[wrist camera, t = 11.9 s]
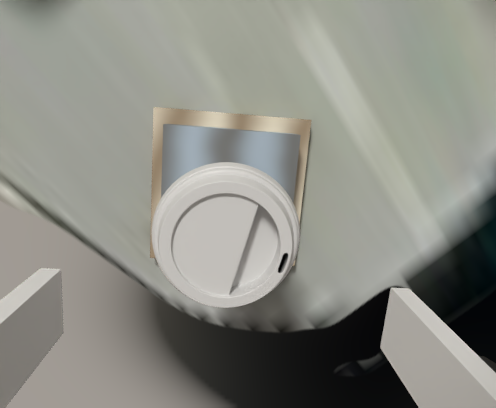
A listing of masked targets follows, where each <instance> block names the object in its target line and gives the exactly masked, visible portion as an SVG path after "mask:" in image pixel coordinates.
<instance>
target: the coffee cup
mask: <svg viewBox="0 0 496 408" xmlns="http://www.w3.org/2000/svg"><path fill="white" fill-rule="evenodd" d="M151 235H152V245H153V250H154V254H155V258H156V260H157V263H158V265H159V267H160V269H161V271H162V272H163V274H164V275H165V277H166V278H167V279H168V280H169V282H170V283H171V284H172V285H173V286H174V287H175V288H176V289H178V290H179V291H180V292H181V293H183V294H184V295H186V296H187V297H189V298H191V299H192V300H194V301H196V302H199V303H201V304H204V305H208V306H212V307H219V308H231V307H239V306H243V305H247V304H249V303H252V302H254V301H256V300H258V299H260V298H262V297H264V296H265V295H267V294H268V293H270V292H271V291H272V290H274V289H275V288H276V287H277V286H278V285H279V284H280V283H281V282H282V281H283V279H284V278H285V277H286V276H287V274H288V273H289V271H290V269H291V267H292V265H293V263H294V261H295V258H296V255H297V252H298V248H299V242H300V224H299V219H298V215H297V211H296V209H295V206H294V204H293V202H292V200H291V198H290V197H289V195H288V194H287V192H286V191H285V190H284V188H283V187H282V186H281V185H280V184H279V183H278V182H277V181H276V180H274V179H273V178H272V177H271V176H269V175H268V174H266V173H264V172H263V171H261V170H259V169H256V168H254V167H251V166H248V165H244V164H240V163H232V162H220V163H212V164H207V165H204V166H201V167H198V168H195V169H193V170H191V171H189V172H187V173H186V174H184V175H183V176H181V177H180V178H179V179H177V180H176V181H175V182H174V183H173V184H172V185H171V186H170V187H169V188H168V189H167V191H166V192H165V193H164V195H163V196H162V198H161V199H160V201H159V203H158V205H157V208H156V210H155V213H154V217H153V222H152V231H151Z"/></svg>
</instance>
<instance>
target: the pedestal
mask: <svg viewBox="0 0 496 408" xmlns="http://www.w3.org/2000/svg"><path fill="white" fill-rule="evenodd" d="M310 127H311V120H304V119H292V118H280V117H267V116H255V115H243V114H231V113H219V112H207V111H195V110H182V109H170V108H158V107H154V113H153V156H152V200H151V231H152V222H153V217H154V213H155V210H156V208H157V205H158V203H159V201H160V199H161V198H162V196H163V195H164V193H165V192H166V191H167V189H168V188H169V187H170V186H171V185H172V184H173V183H174V182H175V181H176V180H177V179H179V178H180V177H181V176H183V175H184V174H186V173H187V172H189V171H191V170H193V169H195V168H198V167H201V166H204V165H207V164H212V163H220V162H232V163H240V164H244V165H248V166H251V167H254V168H256V169H259V170H261V171H263V172H264V173H266V174H268V175H269V176H271V177H272V178H273V179H274V180H276V181H277V182H278V183H279V184H280V185H281V186H282V187H283V188H284V190H285V191H286V192H287V194H288V195H289V197H290V198H291V200H292V202H293V204H294V206H295V209H296V211H297V215H298V219H299V224H300V215H301V206H302V197H303V189H304V180H305V171H306V162H307V154H308V145H309V136H310ZM150 258H155V254H154V250H153V245H152V235H151V243H150ZM295 259H296V258H295ZM292 266H295V261H294V263H293V265H292Z"/></svg>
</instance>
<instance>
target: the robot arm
mask: <svg viewBox="0 0 496 408" xmlns="http://www.w3.org/2000/svg"><path fill="white" fill-rule="evenodd" d="M62 334H63V308H62V279H61V269H47V268H40V269H39V270H38V271H37V272H35V273H34V274H33V275H32V276H30V277H29V278H28V279H27V280H25V281H24V282H23V283H22V284H20V285H19V286H18V287H17V288H15V289H14V290H13V291H12V292H10V293H9V294H8V295H7V296H5V297H4V298H3V299H1V300H0V408H5V407H6V406H7V405H8V404H9V402H10V401H11V400H12V399H13V397H14V396H15V395H16V393H17V392H18V391H19V389H20V388H21V387H22V386H23V384H24V383H25V381H26V380H27V379H28V378H29V377H30V375H31V374H32V373H33V371H34V370H35V369H36V367H37V366H38V365H39V364H40V362H41V361H42V360H43V358H44V357H45V356H46V355H47V353H48V352H49V351H50V350H51V348H52V347H53V346H54V344H55V343H56V342H57V340H58V339H59V338H60V337H61V335H62ZM380 348H381V349H382V351H383V353H384V354H385V356H386V357H387V359H388V360H389V362H390V363H391V365H392V367H393V368H394V370H395V371H396V373H397V374H398V376H399V377H400V379H401V381H402V382H403V384H404V385H405V387H406V388H407V390H408V391H409V393H410V394H411V396H412V398H413V399H414V401H415V402H416V404H417V406H418V407H419V408H496V363H494V362H492V361H491V360H489V359H488V358H486V357H484V356H478V355H477V354H476V353H475V352H473V350H472V349H470V347H468V346H467V345H466V344H465V343H464V342H463V341H462V340H461V339H460V338H459V337H458V336H457V335H456V334H455V333H454V332H453V331H452V330H451V329H450V328H449V327H448V326H447V325H446V324H445V323H444V322H443V321H442V320H441V319H440V318H439V317H438V316H437V315H436V314H435V313H434V312H433V311H432V310H431V309H430V308H429V307H427V306H426V305H425V304H424V303H423V302H422V301H421V300H420V299H419V298H418V297H417V296H416V295H415V294H414V293H413V292H412V291H411V290H410V289H405V288H391V291H390V297H389V302H388V308H387V313H386V318H385V324H384V330H383V335H382V341H381V347H380Z"/></svg>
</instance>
